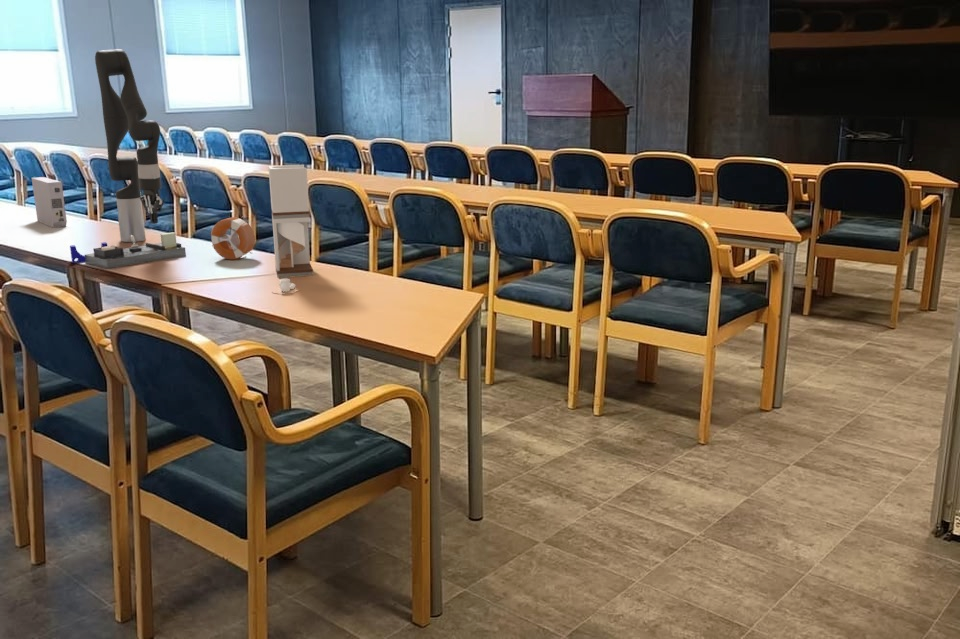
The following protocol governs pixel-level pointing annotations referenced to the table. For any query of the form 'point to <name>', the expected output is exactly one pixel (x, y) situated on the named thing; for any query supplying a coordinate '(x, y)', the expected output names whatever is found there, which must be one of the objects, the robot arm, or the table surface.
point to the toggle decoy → (133, 242)
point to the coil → (232, 238)
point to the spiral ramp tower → (290, 219)
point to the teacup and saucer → (286, 285)
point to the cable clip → (77, 255)
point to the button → (108, 247)
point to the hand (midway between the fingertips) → (154, 223)
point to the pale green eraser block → (168, 240)
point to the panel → (132, 255)
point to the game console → (49, 201)
